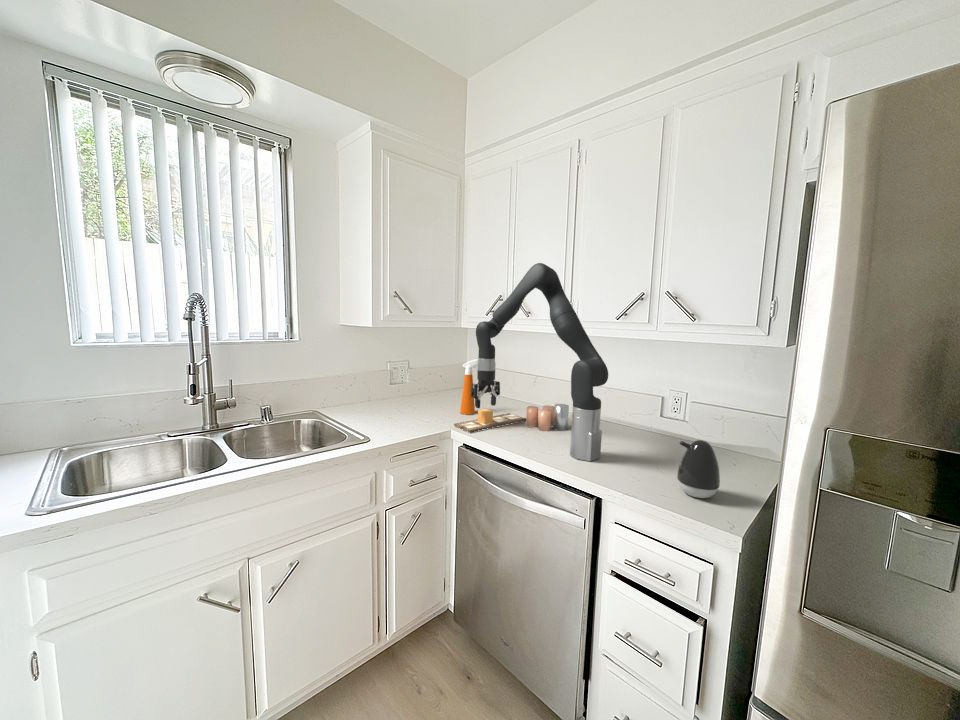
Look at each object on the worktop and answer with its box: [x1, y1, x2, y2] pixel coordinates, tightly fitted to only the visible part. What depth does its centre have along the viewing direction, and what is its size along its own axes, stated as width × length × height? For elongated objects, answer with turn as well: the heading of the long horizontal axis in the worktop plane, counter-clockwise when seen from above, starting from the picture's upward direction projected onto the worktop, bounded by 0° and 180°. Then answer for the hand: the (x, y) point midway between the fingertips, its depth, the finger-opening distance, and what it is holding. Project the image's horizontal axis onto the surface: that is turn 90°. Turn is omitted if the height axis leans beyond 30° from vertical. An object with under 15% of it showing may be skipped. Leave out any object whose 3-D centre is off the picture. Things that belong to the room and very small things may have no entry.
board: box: [453, 412, 526, 433], centre depth 170 cm, size 11×32×1 cm, turn 130°
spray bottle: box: [459, 358, 478, 416], centre depth 186 cm, size 7×11×26 cm, turn 89°
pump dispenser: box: [676, 439, 721, 499], centre depth 106 cm, size 10×10×15 cm
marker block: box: [477, 408, 494, 424], centre depth 167 cm, size 4×4×5 cm
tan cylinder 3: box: [537, 408, 551, 432], centre depth 164 cm, size 5×5×8 cm
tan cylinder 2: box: [542, 404, 554, 427], centre depth 171 cm, size 5×5×8 cm
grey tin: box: [553, 403, 570, 431], centre depth 166 cm, size 6×6×10 cm
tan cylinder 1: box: [525, 405, 540, 428], centre depth 169 cm, size 5×5×8 cm
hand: (485, 406), depth 166 cm, fingers open, 8 cm apart
